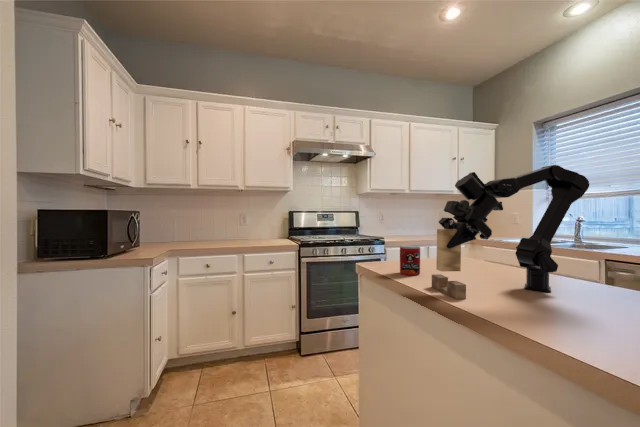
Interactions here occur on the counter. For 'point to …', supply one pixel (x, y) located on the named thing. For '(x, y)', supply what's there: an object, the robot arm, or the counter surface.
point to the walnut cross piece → (449, 286)
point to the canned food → (410, 260)
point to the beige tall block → (447, 251)
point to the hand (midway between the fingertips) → (444, 246)
